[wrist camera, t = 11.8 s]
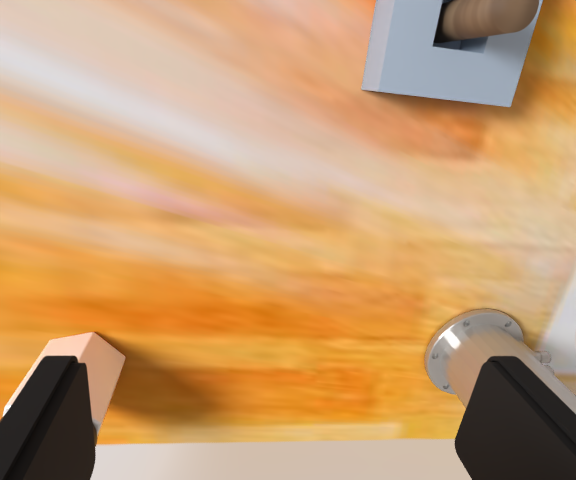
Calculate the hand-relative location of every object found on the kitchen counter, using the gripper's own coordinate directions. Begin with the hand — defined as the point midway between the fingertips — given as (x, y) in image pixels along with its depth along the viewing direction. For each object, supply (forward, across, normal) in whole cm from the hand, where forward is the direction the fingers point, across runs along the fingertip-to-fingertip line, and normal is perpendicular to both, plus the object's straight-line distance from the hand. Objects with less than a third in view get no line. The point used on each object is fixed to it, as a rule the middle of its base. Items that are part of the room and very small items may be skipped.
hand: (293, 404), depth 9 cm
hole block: (+30, -16, -13) cm, 37 cm away
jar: (+31, +16, +24) cm, 42 cm away
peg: (+30, -16, -13) cm, 36 cm away
